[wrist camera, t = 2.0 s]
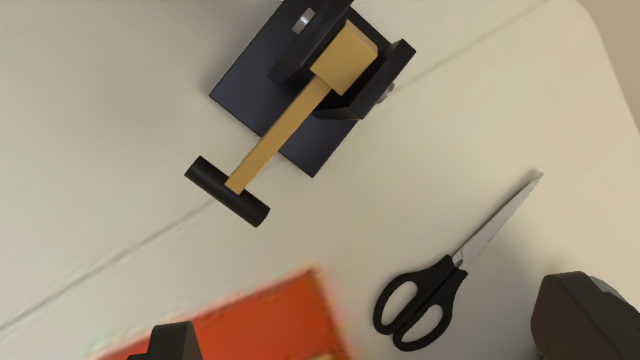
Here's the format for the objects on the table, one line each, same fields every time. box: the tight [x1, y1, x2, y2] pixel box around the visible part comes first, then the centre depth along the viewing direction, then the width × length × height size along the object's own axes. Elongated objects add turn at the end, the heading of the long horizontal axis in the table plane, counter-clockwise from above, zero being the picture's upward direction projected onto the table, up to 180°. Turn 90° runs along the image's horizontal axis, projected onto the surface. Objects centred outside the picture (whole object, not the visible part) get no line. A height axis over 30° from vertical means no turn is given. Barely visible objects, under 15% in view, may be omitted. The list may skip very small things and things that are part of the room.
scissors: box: [373, 173, 544, 352], centre depth 40 cm, size 7×1×20 cm
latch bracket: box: [209, 0, 416, 178], centre depth 29 cm, size 12×10×14 cm
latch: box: [184, 20, 378, 228], centre depth 26 cm, size 13×6×2 cm, turn 141°
